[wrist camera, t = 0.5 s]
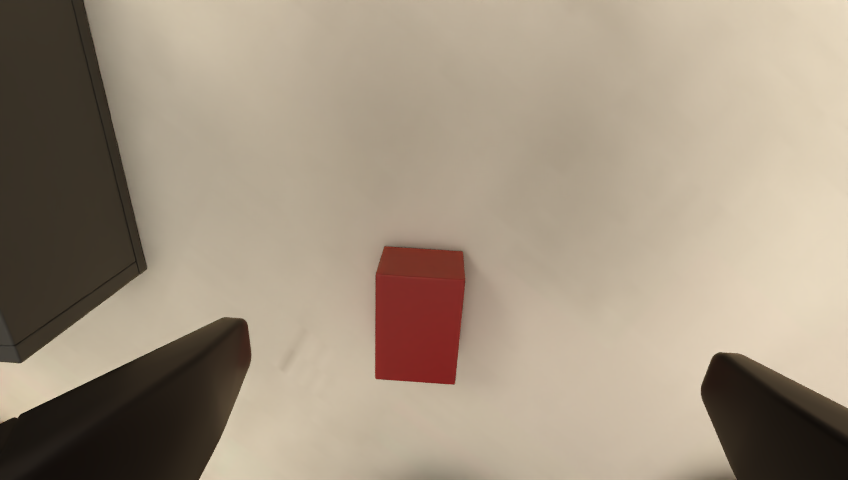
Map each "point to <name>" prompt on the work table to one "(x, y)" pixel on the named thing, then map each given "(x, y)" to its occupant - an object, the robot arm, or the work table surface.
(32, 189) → the storage bin
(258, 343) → the work table surface
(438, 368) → the red rectangular block
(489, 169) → the work table surface
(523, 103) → the work table surface
